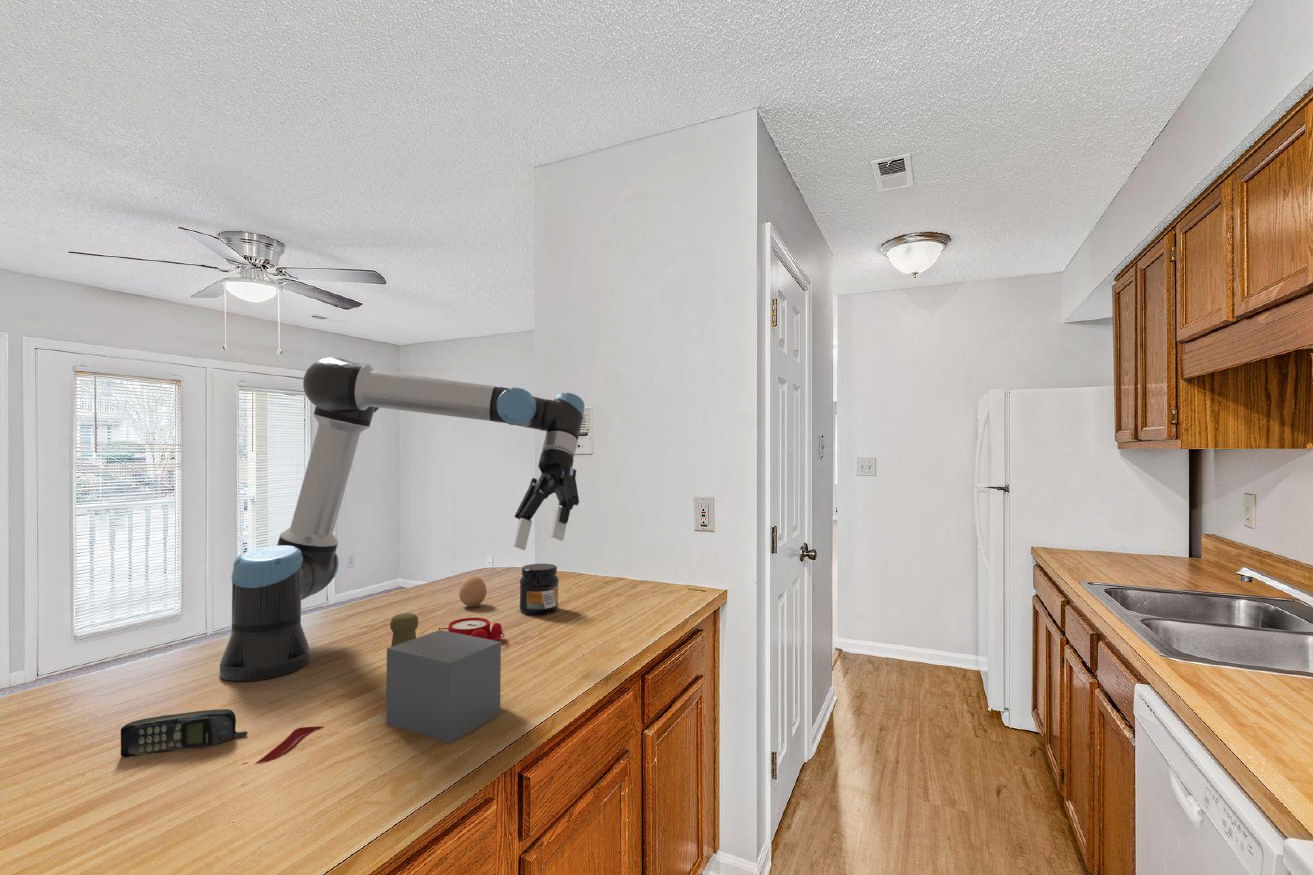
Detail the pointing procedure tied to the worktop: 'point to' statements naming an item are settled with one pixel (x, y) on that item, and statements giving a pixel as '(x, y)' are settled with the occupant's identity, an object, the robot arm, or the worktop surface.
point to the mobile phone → (178, 732)
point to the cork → (403, 628)
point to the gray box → (443, 684)
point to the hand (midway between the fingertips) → (537, 543)
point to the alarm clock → (476, 628)
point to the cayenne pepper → (288, 743)
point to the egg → (472, 591)
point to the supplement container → (539, 589)
